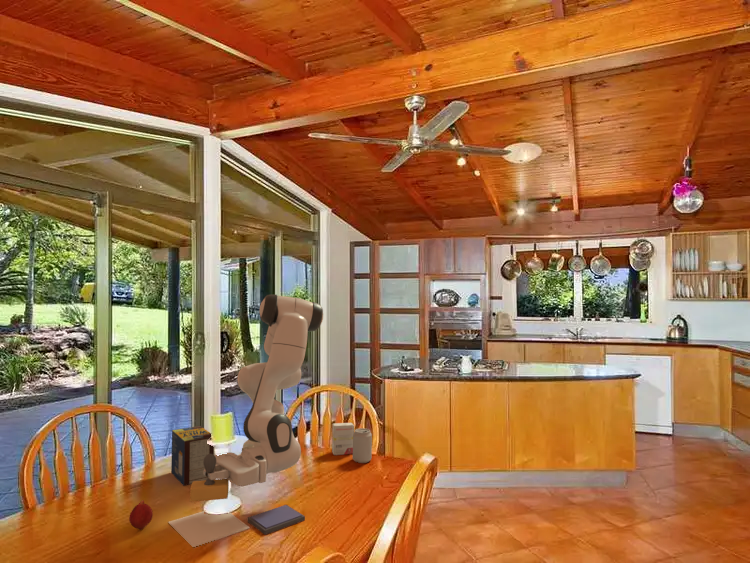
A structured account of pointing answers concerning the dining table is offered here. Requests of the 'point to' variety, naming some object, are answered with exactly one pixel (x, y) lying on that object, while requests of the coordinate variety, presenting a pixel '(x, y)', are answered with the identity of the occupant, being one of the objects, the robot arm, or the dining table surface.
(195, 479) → the protein box
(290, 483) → the dining table surface
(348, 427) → the ink box
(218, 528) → the paper
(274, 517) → the ink pad
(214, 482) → the rubber stamp
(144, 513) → the onion
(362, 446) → the can
